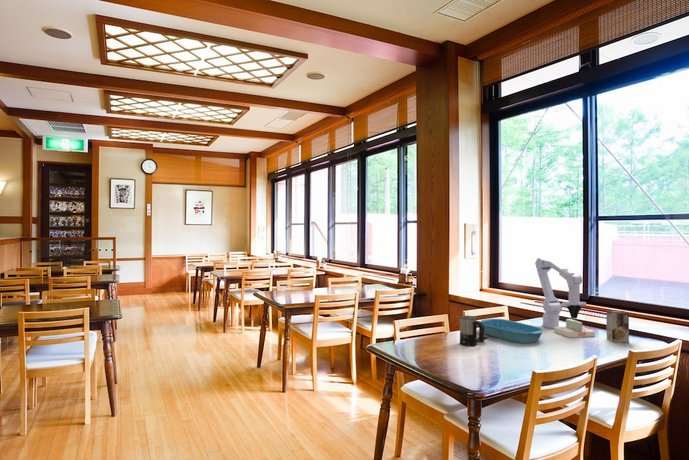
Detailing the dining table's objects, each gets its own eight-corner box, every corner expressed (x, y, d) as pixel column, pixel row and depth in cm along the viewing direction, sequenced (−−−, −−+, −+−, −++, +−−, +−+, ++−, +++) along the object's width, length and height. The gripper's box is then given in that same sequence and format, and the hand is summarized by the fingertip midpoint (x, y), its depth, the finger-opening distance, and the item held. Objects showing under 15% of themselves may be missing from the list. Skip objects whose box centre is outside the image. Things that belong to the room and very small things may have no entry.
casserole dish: (551, 341, 240) (551, 328, 240) (527, 347, 228) (527, 334, 228) (495, 328, 271) (495, 316, 271) (471, 333, 258) (471, 321, 258)
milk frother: (457, 345, 232) (457, 317, 232) (463, 338, 246) (463, 312, 246) (484, 348, 225) (484, 320, 225) (489, 341, 239) (489, 314, 239)
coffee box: (622, 339, 243) (623, 310, 243) (629, 342, 237) (629, 313, 236) (605, 338, 244) (606, 310, 244) (611, 341, 238) (611, 312, 237)
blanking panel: (566, 330, 259) (566, 319, 259) (570, 330, 260) (570, 318, 260) (577, 334, 250) (577, 322, 249) (582, 334, 250) (582, 322, 250)
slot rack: (553, 331, 260) (553, 326, 260) (578, 330, 263) (578, 325, 263) (569, 337, 247) (569, 332, 246) (595, 336, 249) (595, 331, 249)
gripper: (567, 296, 249) (567, 320, 250) (589, 295, 252) (589, 319, 252) (559, 294, 256) (559, 317, 257) (581, 293, 259) (581, 316, 259)
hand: (573, 318), depth 255 cm, fingers closed
